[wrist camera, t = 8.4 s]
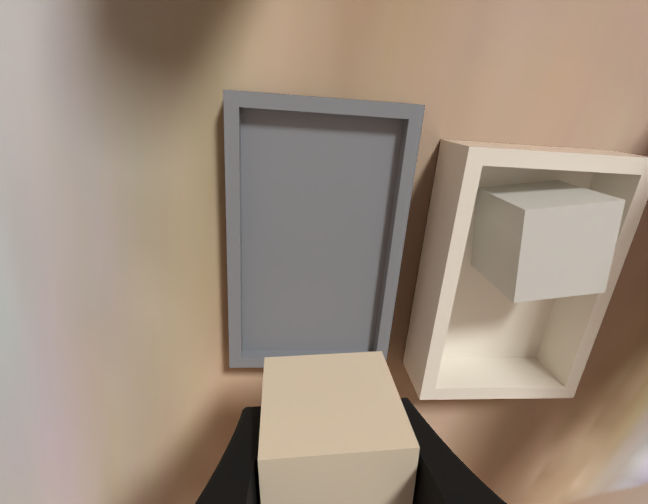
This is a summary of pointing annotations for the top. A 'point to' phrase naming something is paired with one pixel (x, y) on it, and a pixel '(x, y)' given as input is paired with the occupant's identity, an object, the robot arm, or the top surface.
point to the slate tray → (314, 221)
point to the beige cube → (334, 432)
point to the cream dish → (488, 301)
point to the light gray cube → (545, 239)
